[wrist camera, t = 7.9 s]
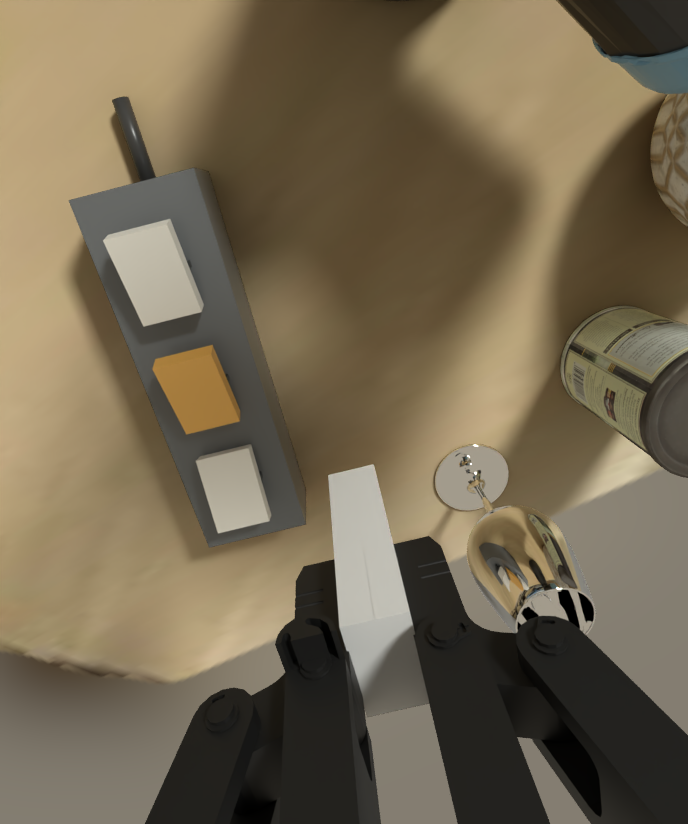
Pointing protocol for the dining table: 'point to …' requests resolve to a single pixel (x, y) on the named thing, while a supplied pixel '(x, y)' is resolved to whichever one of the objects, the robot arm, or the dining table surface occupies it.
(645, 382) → the coffee can
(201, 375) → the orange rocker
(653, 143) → the vase
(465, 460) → the wineglass
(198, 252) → the power strip
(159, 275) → the block
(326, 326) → the dining table surface
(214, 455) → the block
